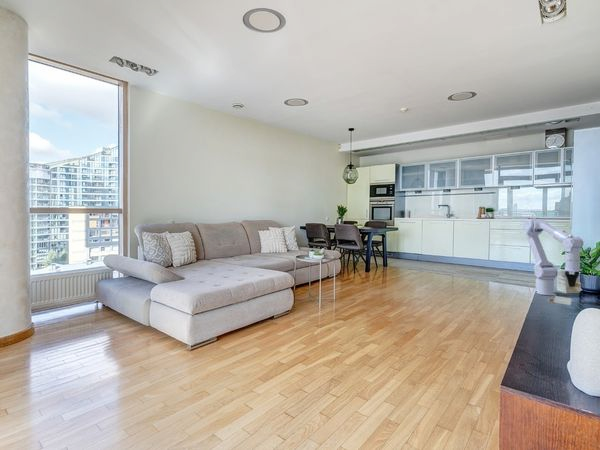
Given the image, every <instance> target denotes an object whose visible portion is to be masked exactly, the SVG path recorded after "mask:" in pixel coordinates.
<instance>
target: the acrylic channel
mask: <svg viewBox="0 0 600 450" xmlns="http://www.w3.org/2000/svg"><path fill="white" fill-rule="evenodd" d="M554 296H555V295H554ZM554 299H555V301H554V303H556V304H561V305H567V306H571V305H572V298H570V297H563V296H555V298H554Z"/></svg>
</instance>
